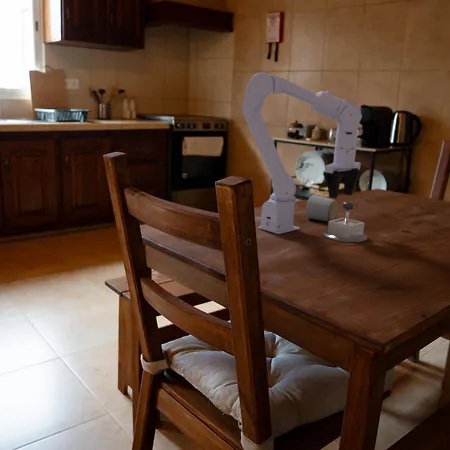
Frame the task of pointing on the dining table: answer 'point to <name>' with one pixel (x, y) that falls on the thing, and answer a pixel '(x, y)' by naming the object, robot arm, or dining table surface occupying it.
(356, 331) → the dining table surface
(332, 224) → the press
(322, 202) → the ceramic mug
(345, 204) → the plunger
